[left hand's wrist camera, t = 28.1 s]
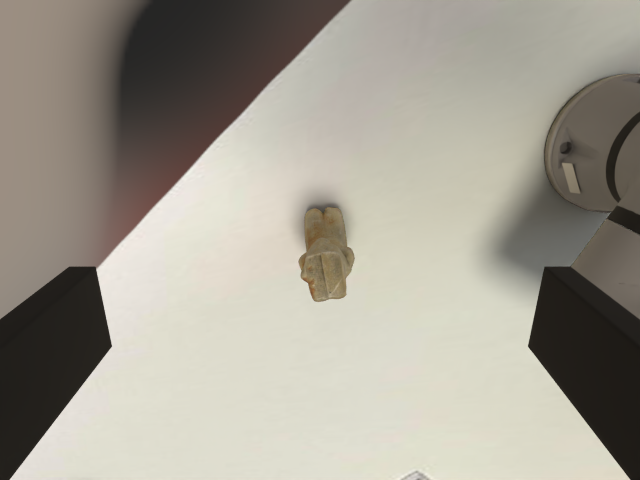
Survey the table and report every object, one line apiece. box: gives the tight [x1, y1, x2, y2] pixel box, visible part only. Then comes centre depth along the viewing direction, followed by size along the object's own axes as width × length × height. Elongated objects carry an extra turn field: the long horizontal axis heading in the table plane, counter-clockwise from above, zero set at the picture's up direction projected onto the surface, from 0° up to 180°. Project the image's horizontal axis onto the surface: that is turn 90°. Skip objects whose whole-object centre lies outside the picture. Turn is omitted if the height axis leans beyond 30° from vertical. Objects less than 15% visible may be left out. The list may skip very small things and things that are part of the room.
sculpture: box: [299, 207, 355, 302], centre depth 46 cm, size 6×7×15 cm
